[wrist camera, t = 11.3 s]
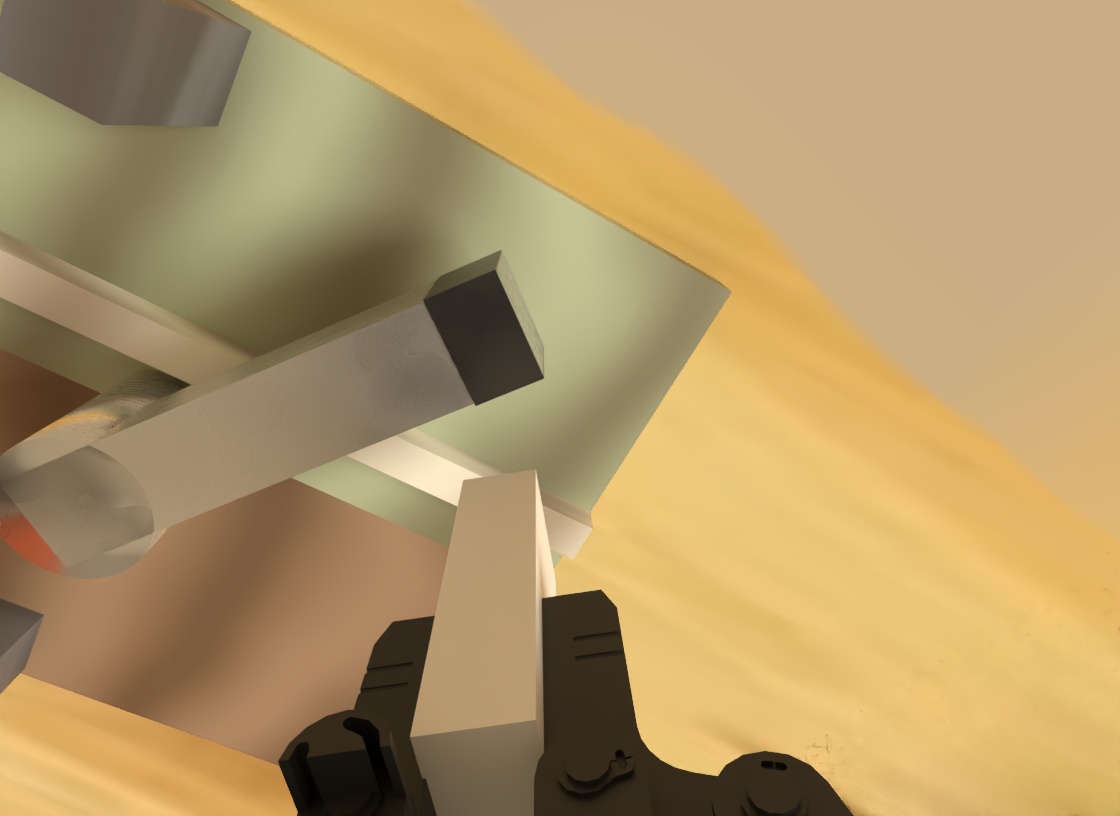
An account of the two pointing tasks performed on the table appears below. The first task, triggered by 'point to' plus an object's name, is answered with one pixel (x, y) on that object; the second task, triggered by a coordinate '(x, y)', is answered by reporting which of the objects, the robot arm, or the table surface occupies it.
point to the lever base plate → (276, 320)
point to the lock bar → (260, 420)
